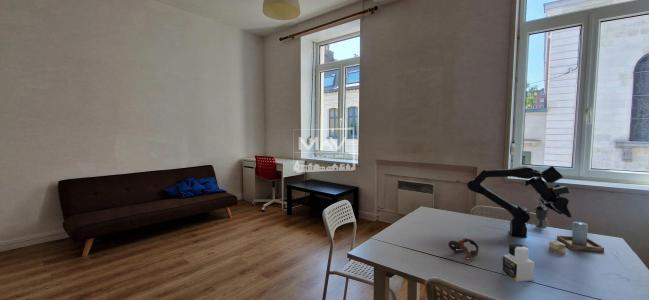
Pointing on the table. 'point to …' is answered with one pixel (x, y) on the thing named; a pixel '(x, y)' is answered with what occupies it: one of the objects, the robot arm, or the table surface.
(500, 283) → the table surface
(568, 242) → the tray
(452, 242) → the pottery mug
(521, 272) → the white stepped box
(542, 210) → the sundae
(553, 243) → the beech cube
